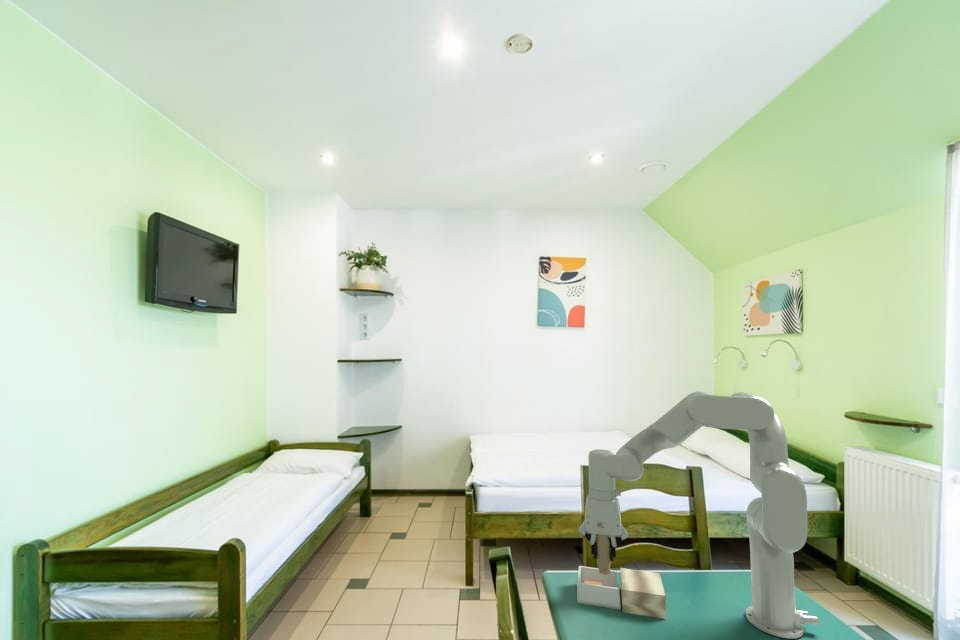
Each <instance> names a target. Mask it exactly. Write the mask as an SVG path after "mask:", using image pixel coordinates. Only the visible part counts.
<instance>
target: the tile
mask: <svg viewBox="0 0 960 640" xmlns="http://www.w3.org/2000/svg"><path fill="white" fill-rule="evenodd" d="M584 583H587V584H594V585H601V586H602V583H601V582H594V581H586V580H584Z"/></svg>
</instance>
